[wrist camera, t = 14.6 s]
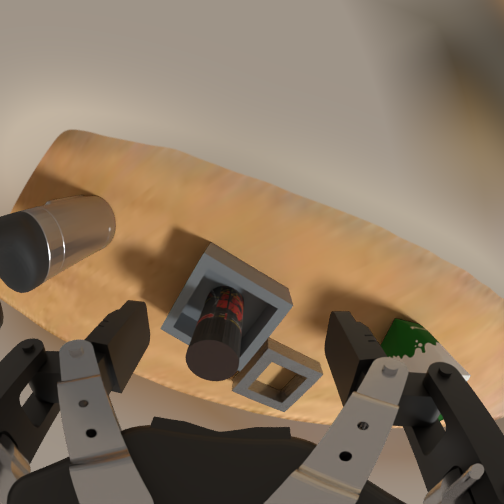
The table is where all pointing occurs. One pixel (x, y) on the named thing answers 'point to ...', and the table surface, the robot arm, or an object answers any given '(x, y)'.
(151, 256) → the table surface
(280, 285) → the bin
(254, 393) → the socket collar
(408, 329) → the milk carton
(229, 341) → the deodorant
